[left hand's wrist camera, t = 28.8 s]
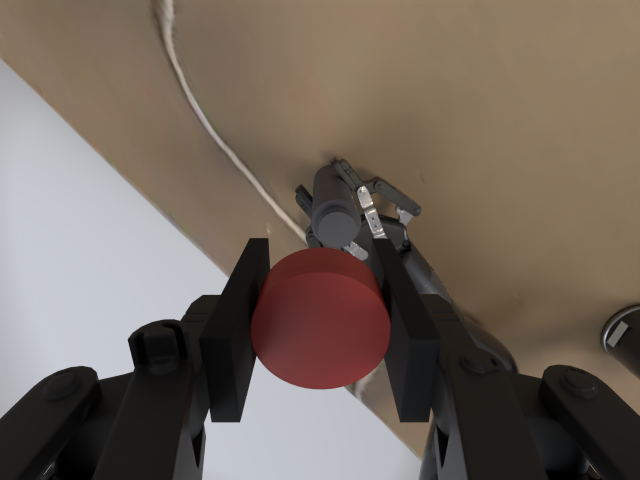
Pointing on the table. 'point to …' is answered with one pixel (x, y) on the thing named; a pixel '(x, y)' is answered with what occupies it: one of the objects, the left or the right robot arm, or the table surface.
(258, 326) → the lid
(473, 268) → the table surface
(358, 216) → the grey upright cylinder
